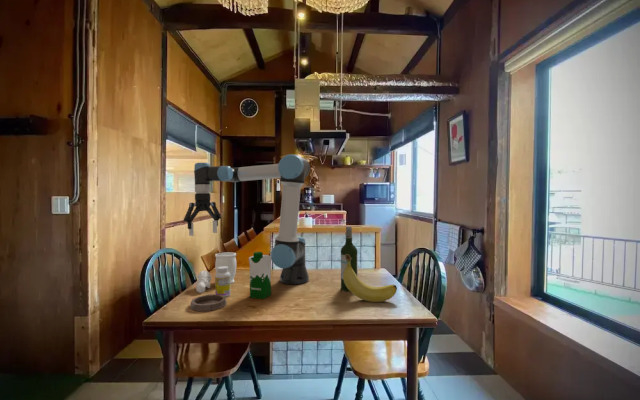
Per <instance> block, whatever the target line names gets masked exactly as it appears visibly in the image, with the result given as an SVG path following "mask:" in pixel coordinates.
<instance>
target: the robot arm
mask: <svg viewBox="0 0 640 400" xmlns="http://www.w3.org/2000/svg"><path fill="white" fill-rule="evenodd" d="M310 170H311V166H310V163H309V162H308V160H307V158H304V157H301V156H300V155H298V154H293V153H292V154H290V153H289V154H286V155H284V156H283V157H282V158H281V159H280V160H279V162H278V163H275V164H262V165H251V166H249V165H248V166H241V167H231V166H229V165H221V166H219V165H218V166H210V163H208V162H196V163H194V169H193V171H194V172H193V173H194V174H193V175H194V193H195V194H194V200H195V202H189V204H188V205H189V206H188V209H187V211H186V214H185V215H184V218H183V222H185V223H187V229H188V235H189V236H190V237H191V236H192V237H193V236H194V222H193V220H194V219H195V218H196V216H197V215H198V214H199V213H200V212H207V213H208V214H209V216H210V217H211V218H212V233H213V234H217V233H218V226H219V221H220V220H222V217H221V214H220V212H219V209H218V207H217V204H216V203H217V202H216V201H211V193H210V192H211V182H230V183H238V182H247V181H258V180H272V179H273V180H274V179H280V181H279V183H280V184H281V185H282V194H281V204H280V206H281V207H280V216H279V217H280V218H279V228H278V230H279V231H278V235H277V236H275V239H274V246H273V248H272V249H271V252H270V255H272V258H271V263H272V264H273V265H275V266H276V267H278V268H280V269H282V270H281V273H280V277H279V281H280V283H282V284H285V285H301V284H305V283H308V282H309V280H310V279H309V278H310V276H309V273H308V271H307V266H306V240H305V239H306V238H304V237H297V233H298V222H299V214H300V213H299V210H300V199H301V189H302V186H304V185H305V178H307V177H308V176H309V174H310Z"/></svg>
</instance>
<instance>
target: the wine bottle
mask: <svg viewBox="0 0 640 400" xmlns="http://www.w3.org/2000/svg"><path fill="white" fill-rule="evenodd" d="M352 231H353V227H352V226H345V244H344V245H343V246H342V247H341V249H340V288H341V290H342V291H344V292H350V293H352V292H351V291H350V290H349V289H348V288H347V287H346V285H345V283H344V280H343V274H344V270H345V269H346V267H347V260H346V257H345V254H349V256H350V257H351V258H352V259H351V261H350V264H351V267H352V269H353V271H354V272H355V274H356V275H357V276H358V248H357V247H356V246H355V245H354V244H353V235H352V233H353V232H352Z"/></svg>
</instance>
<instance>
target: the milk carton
mask: <svg viewBox="0 0 640 400" xmlns="http://www.w3.org/2000/svg"><path fill="white" fill-rule="evenodd" d="M271 258H272V255H271V254H270V255H269V254H264V253H263V252H262V251H254V252H253V255H252V256H250V257H248V264H249V298H251V299H258V300H259V299H260V300H265V299H266V298H268V297H270V296H271V295H272V280H271V279H272V273H271V272H272V269H271V268H272V267H271V266H272V259H271Z"/></svg>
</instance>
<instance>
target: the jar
mask: <svg viewBox="0 0 640 400" xmlns="http://www.w3.org/2000/svg"><path fill="white" fill-rule="evenodd" d="M214 255H215V256H214V257H215V265H214V267H215V268H214V269H215V274H216V273H218V271H217V268H218V267H221V266H227V267H228V272H229V273H230V284H233V283H235V279H234V278H235V276H236V272H237V271H236V270H237V257H236V256H237V253H236V252H232V251H231V252H229V251H227V252H226V251H225V252H218V253H215V254H214Z"/></svg>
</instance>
